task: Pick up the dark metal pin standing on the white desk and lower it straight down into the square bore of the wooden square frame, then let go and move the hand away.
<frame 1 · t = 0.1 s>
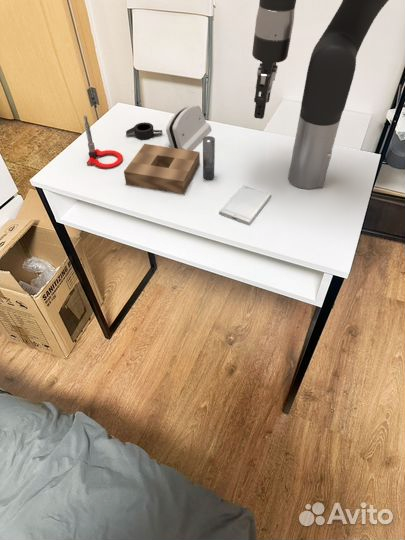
hand: (261, 109, 90), 17 cm above the table, tool pointing down, fingers open, 8 cm apart
pin: (208, 177, 101), on the table
black rounded piece: (144, 136, 117), on the table
grey rounded slab: (189, 140, 114), on the table
hard drive: (245, 207, 94), on the table
wooden square frame: (164, 174, 102), on the table
tow hook: (107, 161, 107), on the table
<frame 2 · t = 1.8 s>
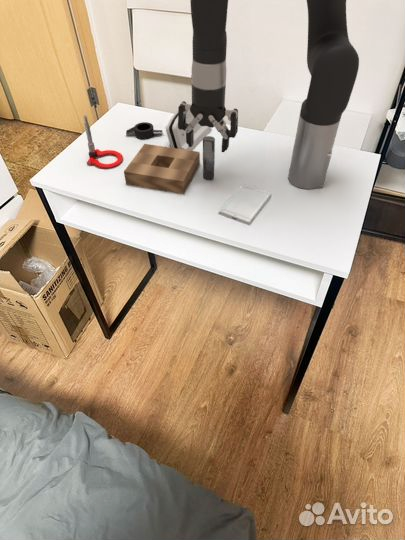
hand: (207, 148, 95), 9 cm above the table, tool pointing down, fingers open, 8 cm apart
nothing on the table moved.
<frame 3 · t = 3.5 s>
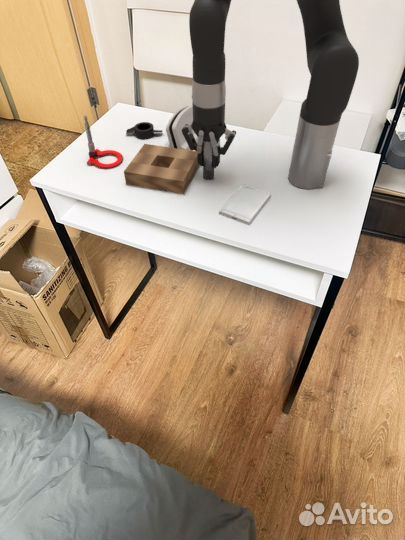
hand: (208, 165, 98), 4 cm above the table, tool pointing down, fingers closed on pin, 3 cm apart
pin: (208, 177, 101), on the table, touching gripper
everything else where it was.
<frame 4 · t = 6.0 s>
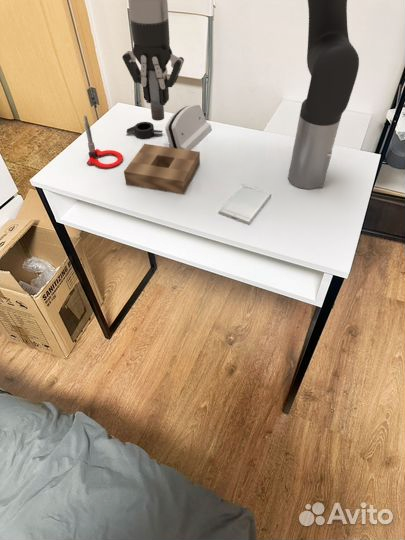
hand: (156, 102, 88), 20 cm above the table, tool pointing down, fingers closed on pin, 3 cm apart
pin: (158, 117, 90), point 16 cm above the table, touching gripper
everything else where it was.
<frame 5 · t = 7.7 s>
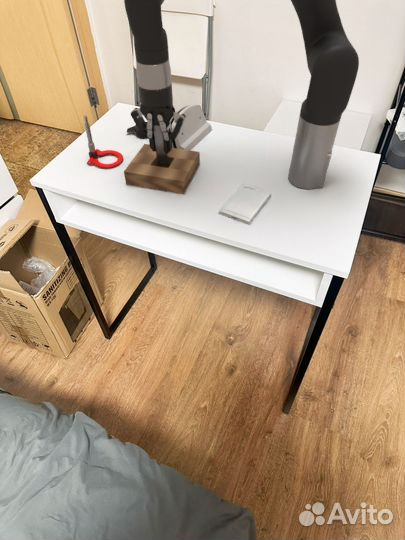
hand: (161, 150, 97), 7 cm above the table, tool pointing down, fingers closed on pin, 3 cm apart
pin: (162, 163, 100), point 4 cm above the table, touching gripper
everything else where it was.
when the fingers open (6 cm above the table, at t = 8.9 s): pin drops 2 cm, resting in wooden square frame.
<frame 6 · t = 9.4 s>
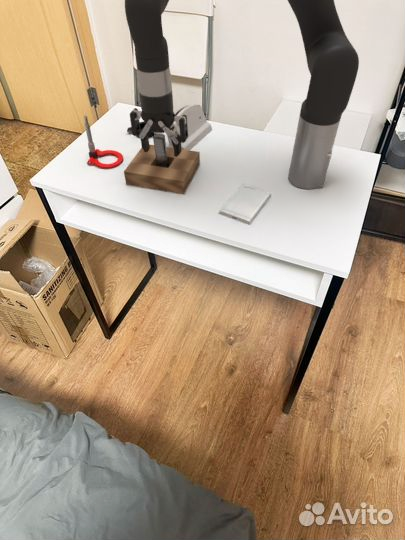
hand: (161, 152, 97), 7 cm above the table, tool pointing down, fingers open, 8 cm apart
pin: (163, 174, 102), resting in wooden square frame
everything else where it was.
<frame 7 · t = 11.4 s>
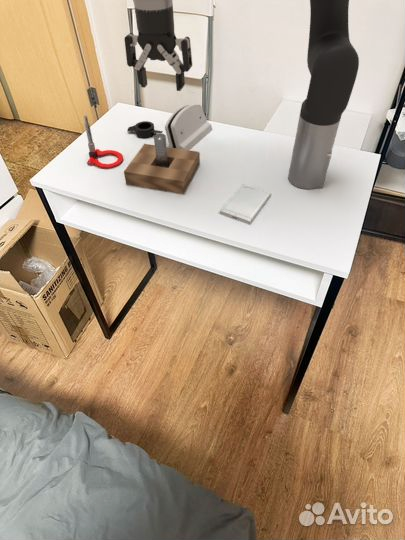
hand: (161, 87, 86), 23 cm above the table, tool pointing down, fingers open, 8 cm apart
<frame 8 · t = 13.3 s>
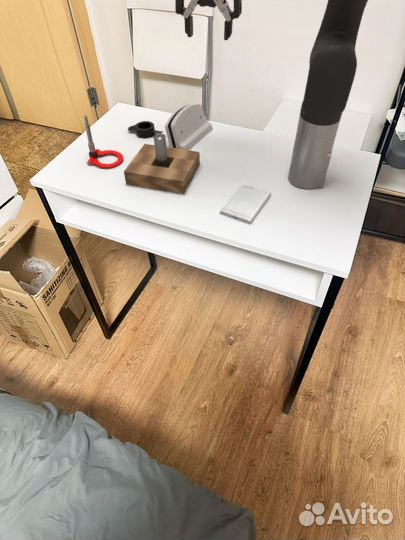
hand: (208, 37, 86), 30 cm above the table, tool pointing down, fingers open, 8 cm apart
at the end: pin 0.1 cm off-centre on the wooden square frame, point 0.0 cm above the wooden square frame's base; pin tilted 0°; the gripper is holding nothing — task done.
